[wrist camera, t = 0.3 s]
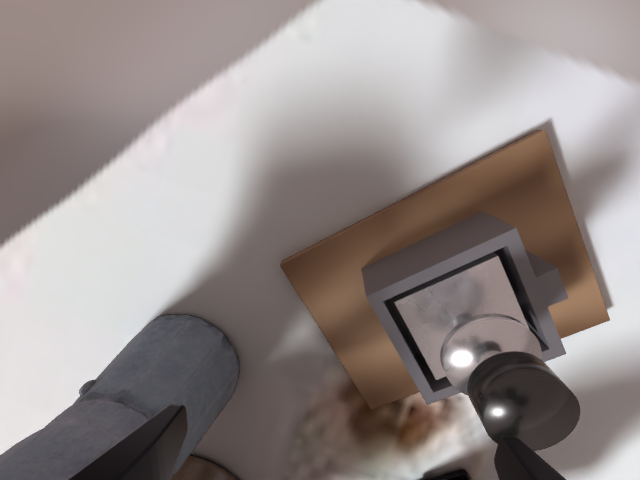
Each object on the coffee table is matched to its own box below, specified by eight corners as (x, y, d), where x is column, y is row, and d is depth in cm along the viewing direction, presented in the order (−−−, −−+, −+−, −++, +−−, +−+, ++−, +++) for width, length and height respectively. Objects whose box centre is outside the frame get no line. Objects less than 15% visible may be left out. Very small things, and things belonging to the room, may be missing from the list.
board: (600, 313, 22) (610, 320, 21) (370, 402, 25) (371, 410, 25) (536, 130, 19) (545, 129, 18) (282, 261, 22) (280, 265, 21)
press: (543, 309, 21) (588, 345, 17) (412, 361, 23) (427, 404, 19) (500, 201, 19) (540, 216, 15) (361, 268, 21) (365, 296, 17)
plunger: (528, 336, 18) (636, 446, 12) (433, 373, 20) (482, 492, 13) (492, 251, 17) (592, 323, 10) (392, 297, 18) (423, 386, 11)
